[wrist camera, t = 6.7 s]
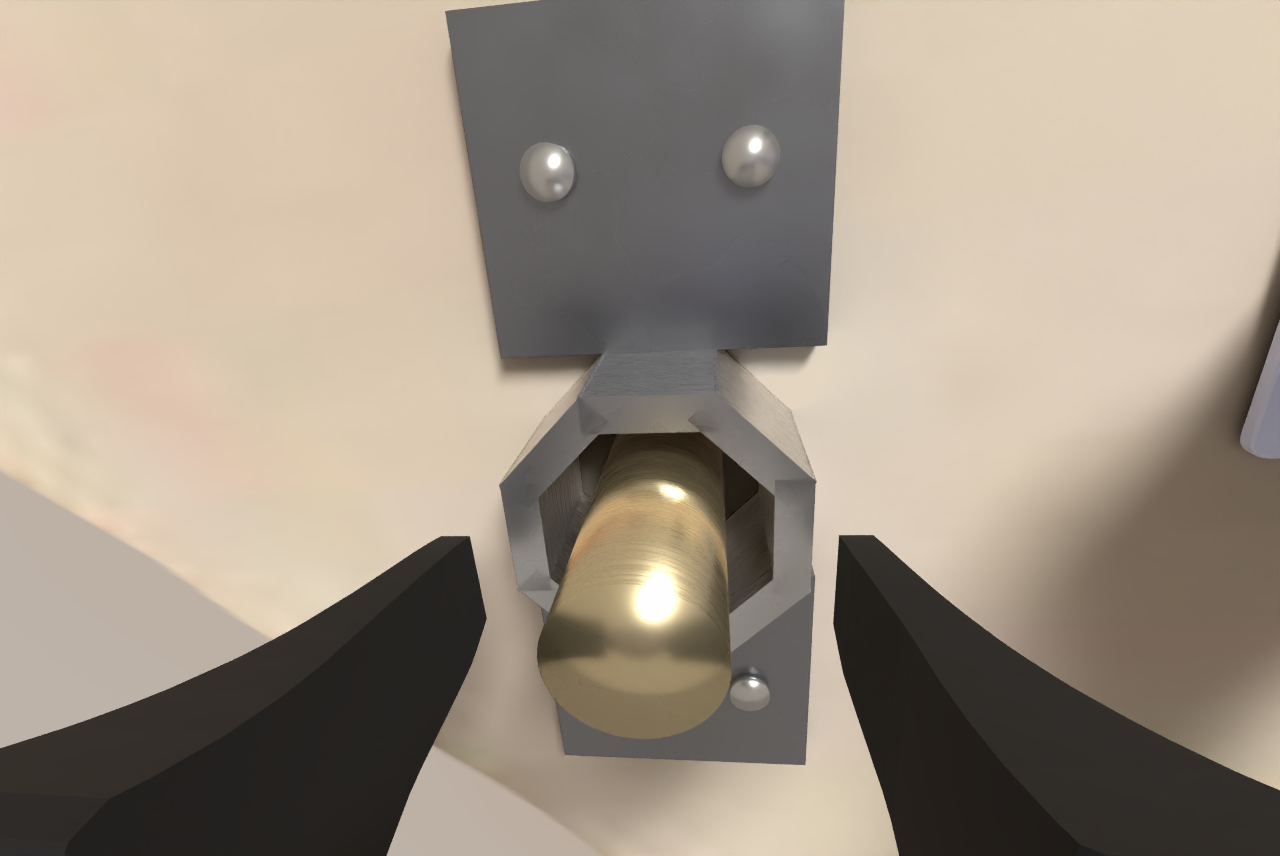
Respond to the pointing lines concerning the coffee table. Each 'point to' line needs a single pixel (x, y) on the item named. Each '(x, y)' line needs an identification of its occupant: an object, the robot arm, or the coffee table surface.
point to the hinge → (664, 287)
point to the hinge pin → (645, 593)
